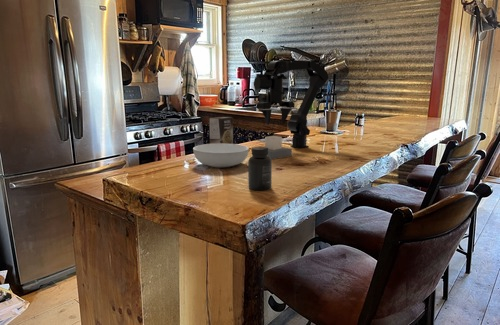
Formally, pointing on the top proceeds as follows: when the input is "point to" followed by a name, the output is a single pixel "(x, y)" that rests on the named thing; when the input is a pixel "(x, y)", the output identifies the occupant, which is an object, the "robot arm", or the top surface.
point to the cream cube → (273, 142)
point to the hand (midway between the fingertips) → (275, 123)
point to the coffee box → (221, 130)
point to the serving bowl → (220, 154)
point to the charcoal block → (279, 153)
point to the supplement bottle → (259, 169)
